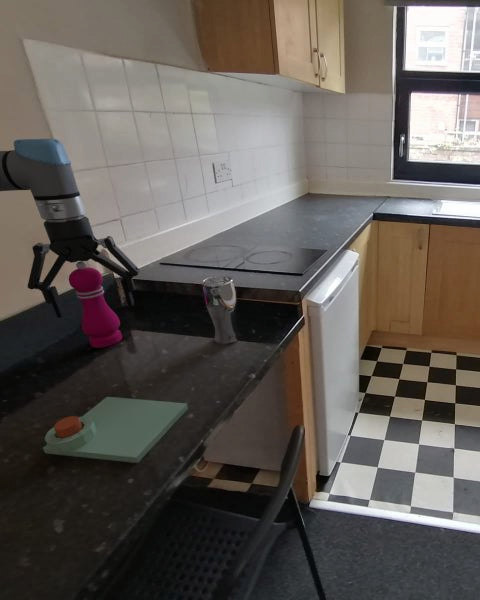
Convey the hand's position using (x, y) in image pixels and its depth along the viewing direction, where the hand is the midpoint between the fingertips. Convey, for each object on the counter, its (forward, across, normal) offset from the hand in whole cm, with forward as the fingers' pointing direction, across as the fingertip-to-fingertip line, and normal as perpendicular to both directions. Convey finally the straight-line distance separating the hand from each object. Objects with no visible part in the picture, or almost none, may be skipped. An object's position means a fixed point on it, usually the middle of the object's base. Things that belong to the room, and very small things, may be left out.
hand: (97, 310), depth 93 cm
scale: (+8, +9, -36) cm, 38 cm away
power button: (+6, +2, -37) cm, 38 cm away
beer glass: (+9, +26, -10) cm, 29 cm away
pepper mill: (+8, 0, 0) cm, 9 cm away
